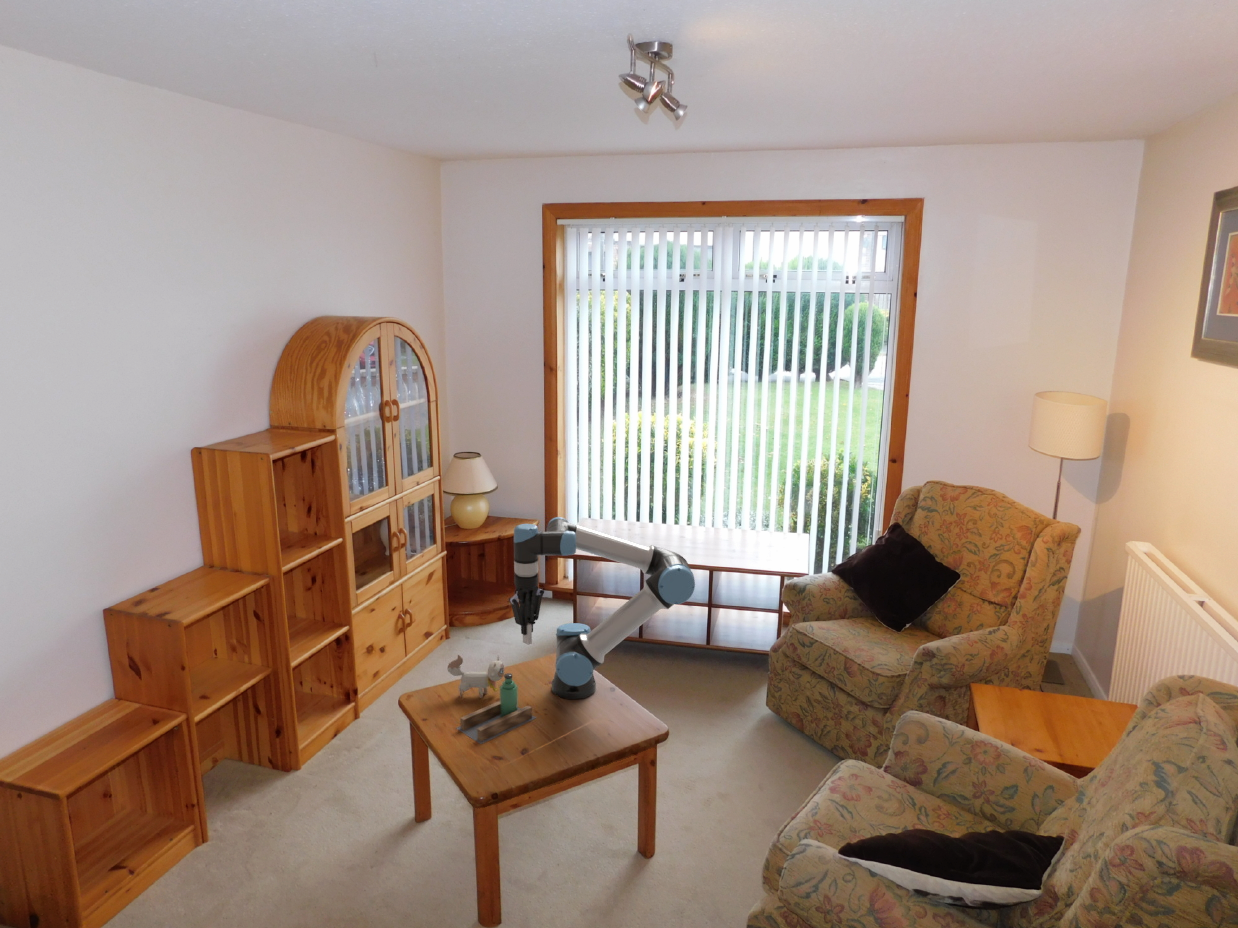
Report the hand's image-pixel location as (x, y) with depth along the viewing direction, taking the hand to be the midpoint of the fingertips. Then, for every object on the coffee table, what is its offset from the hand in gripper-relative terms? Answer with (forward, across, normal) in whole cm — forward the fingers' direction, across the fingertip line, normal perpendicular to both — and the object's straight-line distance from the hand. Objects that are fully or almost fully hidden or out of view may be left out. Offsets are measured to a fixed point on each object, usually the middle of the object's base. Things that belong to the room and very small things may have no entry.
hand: (527, 642), depth 266 cm
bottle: (+23, +8, 0) cm, 24 cm away
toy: (+24, +7, -19) cm, 31 cm away
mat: (+23, +13, 0) cm, 27 cm away
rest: (+23, +13, 0) cm, 27 cm away
